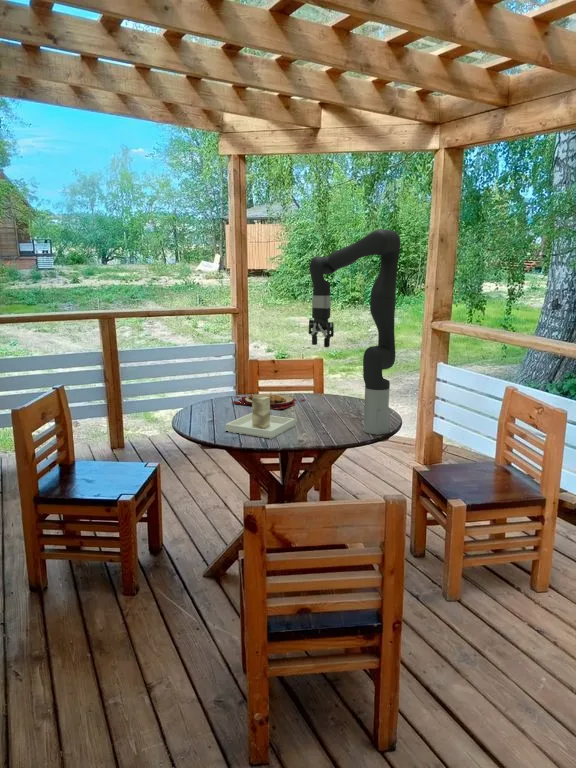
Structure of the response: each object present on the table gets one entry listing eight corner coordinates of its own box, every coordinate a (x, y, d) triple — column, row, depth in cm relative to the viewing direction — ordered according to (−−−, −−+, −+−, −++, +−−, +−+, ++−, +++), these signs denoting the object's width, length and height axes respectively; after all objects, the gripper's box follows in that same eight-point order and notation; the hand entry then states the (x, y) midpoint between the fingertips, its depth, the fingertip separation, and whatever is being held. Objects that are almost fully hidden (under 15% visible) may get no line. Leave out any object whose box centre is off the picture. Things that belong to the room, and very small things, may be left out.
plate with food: (282, 413, 243) (282, 405, 242) (231, 404, 255) (231, 396, 254) (306, 402, 265) (306, 395, 264) (258, 395, 276) (258, 388, 276)
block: (269, 426, 216) (269, 396, 213) (263, 429, 211) (263, 399, 209) (258, 425, 218) (258, 395, 216) (252, 428, 214) (252, 398, 211)
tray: (295, 426, 219) (295, 418, 218) (271, 439, 202) (271, 431, 201) (252, 419, 228) (251, 412, 227) (225, 431, 211) (225, 424, 210)
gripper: (303, 305, 229) (303, 344, 233) (324, 307, 218) (323, 348, 221) (318, 305, 233) (317, 343, 237) (339, 307, 222) (338, 347, 225)
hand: (320, 346), depth 229 cm, fingers open, 8 cm apart
